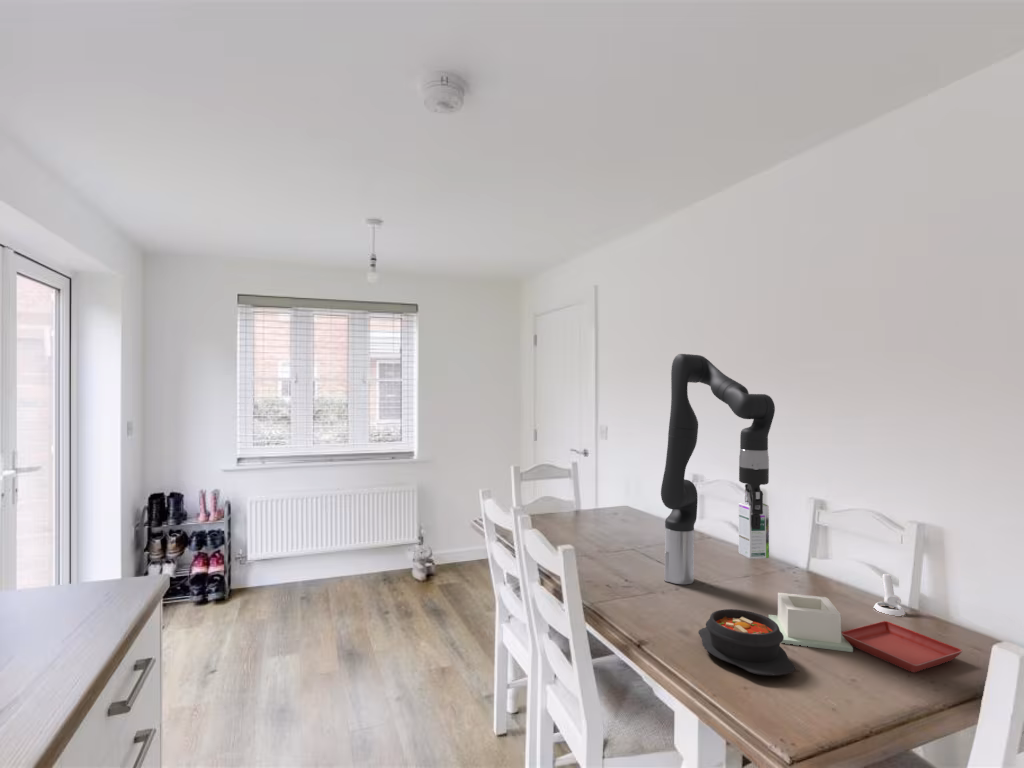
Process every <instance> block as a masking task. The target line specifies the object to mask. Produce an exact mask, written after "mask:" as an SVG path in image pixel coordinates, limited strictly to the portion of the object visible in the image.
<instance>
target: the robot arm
mask: <svg viewBox="0 0 1024 768" xmlns="http://www.w3.org/2000/svg"><path fill="white" fill-rule="evenodd" d="M670 371H671V372H670V375H671V379H670V381H671V384H670V385H671V387H670V388H671V390H670V392H671V393H670V394H671V400H670V413H669V414H670V415H669V422H668V423H669V424H668V433H667V448H666V450H667V451H666V457H665V466H664V472H663V475H662V476H663V477H662V480H661V487H660V496H661V501H662V503H663V505H664V506H665V507H666V508H667V509H670V510H671V512H670V514H669V515H668V516H667V517H666V518H665V521H664V531H665V532H664V581H665V582H666V583H667V582H668V583H671V584H676V585H692V584H693V583H694V579H695V578H694V577H695V576H694V573H695V571H694V570H695V569H694V567H695V566H694V565H695V564H694V560H695V559H694V558H695V555H694V554H695V553H694V550H695V535H694V534H695V523H696V522H697V518H698V516H697V515H698V500H699V499H698V498H699V497H698V490H697V487H696V486H695V484H694V483H693V482H692V481H691V480H689V479H685V474H686V469H687V466H688V463H689V461H690V458H691V457H692V455H693V453H694V450H695V449H696V446H697V442H698V436H699V435H698V433H699V420H698V418H697V415H696V413H695V411H694V409H693V407H692V404H691V403H690V401H689V396H688V394H689V393H688V384H689V383H695V384H696V383H700V384H704V385H707V386H709V387H710V390H711V393H712V394H713V395H714V396H715V397H716V398H717V399H719V400H720V401H721V402H723V403H724V404H726V405H728V407H729V408H730V410H731V411H732V412H733V414H734V415H735V416H736V417H738V418H741V419H744V420H753V421H752V422H751V425H750V426H749V427H744V428H743V429H742V430H740V435H739V436H740V441H739V442H740V446H739V448H740V449H739V455H738V456H739V457H738V458H739V459H738V481H739V482H740V483H742V484H745V485H744V488H745V489H744V493H745V496H744V501H745V502H748V505H749V506H751V527H752V529H760V515H761V514H763V504H764V501H763V499H764V492H763V491H762V490H761V486H763V485H764V486H765V485H768V484H769V481H770V480H769V477H770V475H769V474H770V471H769V470H770V462H769V461H770V459H769V457H770V456H769V439H768V438H769V437H768V436H769V432H770V430H771V428H772V427H771V426H772V423H773V420H774V417H775V412H776V408H775V407H776V406H775V402H774V400H773V398H772V397H771V396H770V395H768V394H766V393H763V394H762V393H750V392H749V391H748V388H746V386H745V385H743V384H742V383H740V382H738V381H736V380H734V379H732V378H731V377H729V376H727V375H726V374H725V373H724V372H722V371H721V370H720V369H719V368H717V366H715V365H714V364H713V363H712V362H711V361H710V360H709V359H707V358H706V356H703V355H699V354H689V353H679V354H677V355H676V356H675V357H674V358H673V360H672V364H671V369H670ZM755 507H758V509H755Z"/></svg>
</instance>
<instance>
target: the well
mask: <svg viewBox="0 0 1024 768" xmlns="http://www.w3.org/2000/svg"><path fill="white" fill-rule="evenodd" d="M767 617H768V618H770V619H772V620H773V621H774V622H775V623H776V624H777V625H778V627H779V630H780V632H781V633H782V634H783V636H784V639H783V641H782V642H781V643H780V644H782V643H785V644H784V645H790V644H793V646H799V645H801V646H800V647H807V646H808V648H816V649H817V648H818V649H826V650H833V651H842V652H848V653H853V652H854V647H853V646H852V645H851V644H850V643H849V642H848V641H847V640H846V639H845V638H844V637H843V636H842V634H841V632H842V613H840V611H838V609H837V608H836V606H835V605H834V604H833V603H832V602H831V600H830V599H829V598H828V597H826V596H818V595H817V596H816V595H807V594H798V593H797V594H796V593H786V592H777V614H768V616H767Z"/></svg>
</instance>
